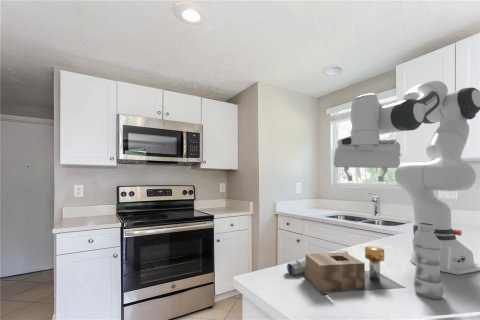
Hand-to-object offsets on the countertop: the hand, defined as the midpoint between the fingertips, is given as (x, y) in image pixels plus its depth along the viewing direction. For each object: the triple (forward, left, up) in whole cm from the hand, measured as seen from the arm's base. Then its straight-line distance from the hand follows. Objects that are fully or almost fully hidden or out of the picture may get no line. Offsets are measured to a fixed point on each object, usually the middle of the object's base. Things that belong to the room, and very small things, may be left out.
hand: (365, 181), depth 85 cm
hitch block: (+8, +4, -32) cm, 33 cm away
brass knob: (0, +4, -31) cm, 31 cm away
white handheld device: (+13, -6, -32) cm, 35 cm away
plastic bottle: (-8, +15, -32) cm, 36 cm away
